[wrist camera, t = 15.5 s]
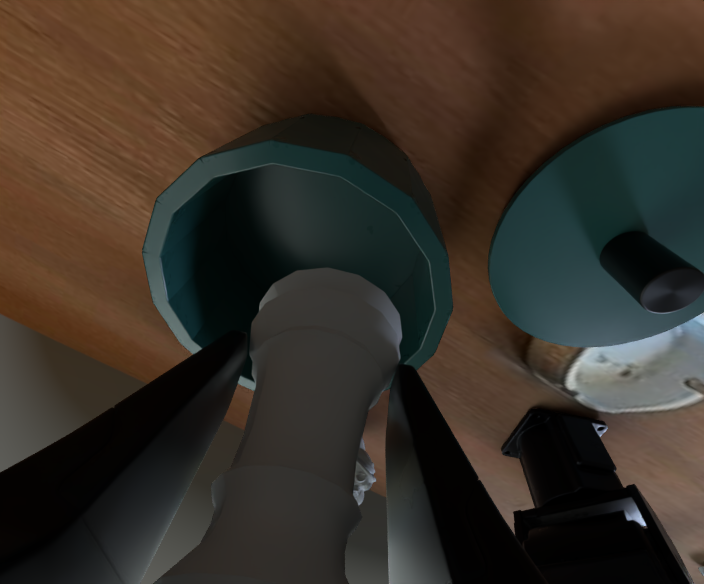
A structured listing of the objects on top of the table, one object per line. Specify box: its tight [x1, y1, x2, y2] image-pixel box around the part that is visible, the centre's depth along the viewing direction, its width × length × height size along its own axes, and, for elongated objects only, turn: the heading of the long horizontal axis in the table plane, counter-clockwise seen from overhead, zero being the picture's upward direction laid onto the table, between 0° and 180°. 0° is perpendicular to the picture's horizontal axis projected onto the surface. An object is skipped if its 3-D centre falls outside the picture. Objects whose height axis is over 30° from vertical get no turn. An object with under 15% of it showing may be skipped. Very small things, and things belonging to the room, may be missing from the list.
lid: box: [488, 106, 704, 347], centre depth 18 cm, size 14×14×5 cm
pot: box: [142, 114, 453, 391], centre depth 19 cm, size 14×14×8 cm
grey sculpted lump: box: [353, 438, 376, 505], centre depth 29 cm, size 6×7×7 cm
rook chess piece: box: [153, 267, 402, 584], centre depth 8 cm, size 4×4×8 cm
